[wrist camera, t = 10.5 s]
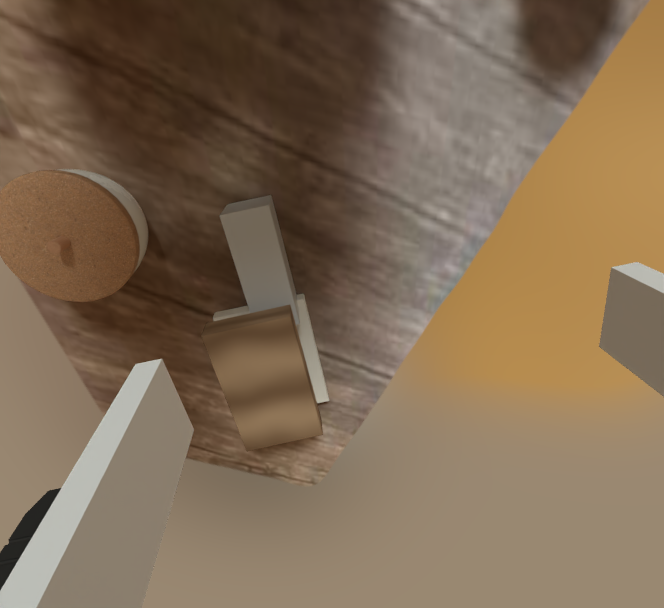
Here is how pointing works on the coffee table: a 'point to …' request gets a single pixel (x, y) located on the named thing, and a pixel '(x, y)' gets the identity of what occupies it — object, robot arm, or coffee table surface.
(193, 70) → the coffee table surface
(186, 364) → the coffee table surface
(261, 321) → the board
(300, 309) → the peg stand
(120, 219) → the lidded jar
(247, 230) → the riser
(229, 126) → the coffee table surface
